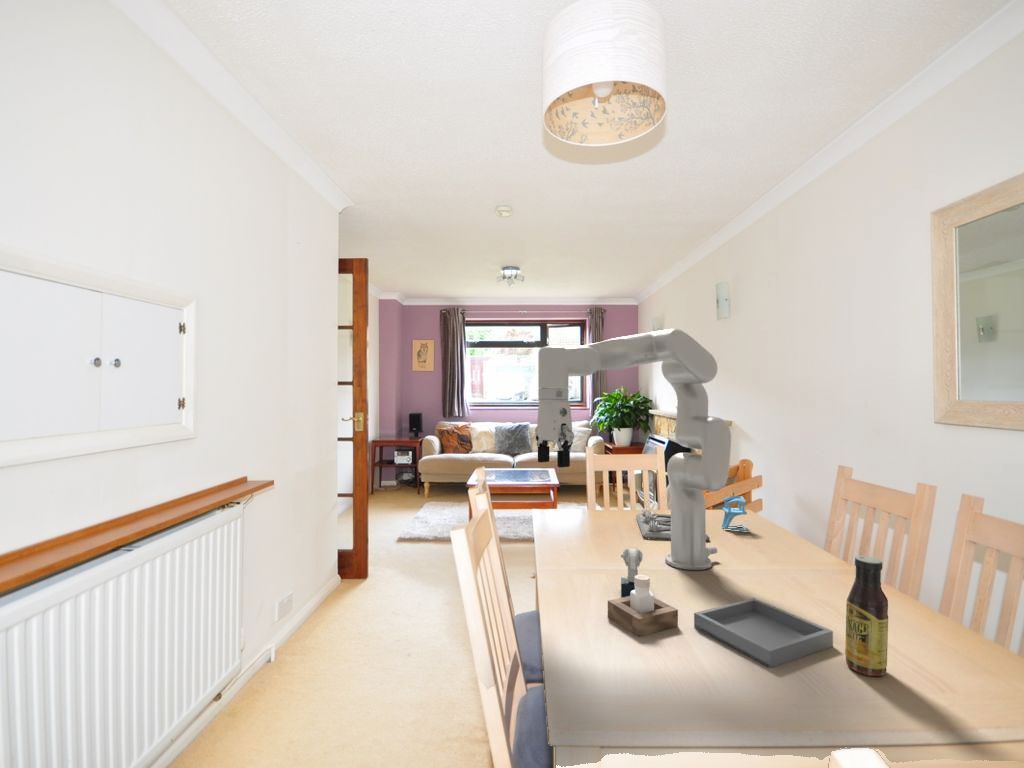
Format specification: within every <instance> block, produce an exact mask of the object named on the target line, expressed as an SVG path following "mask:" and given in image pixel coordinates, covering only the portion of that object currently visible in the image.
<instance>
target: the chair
mask: <svg viewBox="0 0 1024 768" xmlns="http://www.w3.org/2000/svg"><path fill="white" fill-rule="evenodd" d="M722 500H723V502H724V507H722V511H723V512H724V517H723V520H722V523H721V528H722V527H724V529H731V530H739V531H750V532H751V530H750V529H749V528H748V527H747V526H745V525H744V524H734V525H733V524H731V522H732V521H733V519H734V518H735V517H737V516H741V515H748V511H746V510H745V507H746V502H747V500H746V498H744V497H743V496H742V495H740V496H739V495H731V496H728V497H726V498H723V499H722ZM735 503H737V507H734V508H733V507H731V504H735ZM741 505H742V506H741ZM737 526H743V527H744V528H745V529H746V530H745V529H744V528H728V527H737Z"/></svg>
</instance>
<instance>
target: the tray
mask: <svg viewBox="0 0 1024 768" xmlns="http://www.w3.org/2000/svg"><path fill="white" fill-rule="evenodd" d="M693 617H694V619H693V628H695V629H696V630H698V631H701V632H702V633H704V634H706V635H708V636H710V637H712V638H713V639H714V640H715V639H716V640H717V641H718V642H721V643H723V644H725V645H727V646H728V647H730V648H731V649H733V650H736V651H737V652H738V653H742V654H743V655H745V656H747V657H748V658H751V659H753V660H754V661H756V662H758V663H760V664H762V665H764V666H765V667H767V668H769V669H771V668H774V667H776V666H779V665H783V664H785V663H789V662H791V661H794V660H797V659H800V658H803V657H806V656H809V655H813V654H814V653H818V652H821V651H823V650H824V651H825V650H826V649H830V648H832V647H834V639H833V638H834V635H833V634H834V631H833V630H831V629H829V628H826V627H824V626H822V625H820V624H817V623H815V622H812V621H810V620H808V619H806V618H802V617H800V616H798V615H796V614H794V613H790V612H789V611H786V610H784V609H781V608H778V607H776V606H775V605H771V604H770V603H766V602H764V601H762V600H759V599H757V598H755V597H752V598H749V599H745V600H740V601H737V602H733V603H732V602H731V603H729V604H723V605H720V606H717V607H713V608H712V607H711V608H708V609H704V610H699V611H697V612H696V611H695V612H694V613H693Z"/></svg>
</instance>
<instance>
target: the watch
mask: <svg viewBox="0 0 1024 768" xmlns="http://www.w3.org/2000/svg"><path fill="white" fill-rule="evenodd" d="M643 556H644V554H643V552H642V551H641V550H640V549H639V548H636V547H627V548H625V549H624V550H623V551H622V553H621V555H620V558H622V559H623V561H624V563H625V566H626V567H627V577H620V580H621V581H620V598H622V597H627V596H630V592H631V591H632V590H635V586H634V577H635V576H636V575H639V570H638V568H639V567H640V565H641V563H642V561H643Z"/></svg>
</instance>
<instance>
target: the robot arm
mask: <svg viewBox="0 0 1024 768" xmlns="http://www.w3.org/2000/svg"><path fill="white" fill-rule="evenodd" d="M537 357H538V365H537V366H538V371H537V372H538V373H537V375H538V377H537V378H538V379H537V381H538V382H537V383H538V385H537V386H538V389H537V392H538V395H537V396H538V400H537V402H538V411H537V425H536V426H535V428H534V433H535V440H536V446H537V462H538V463H549V462H550V446H549V444H550V442H552V443H556V445H557V447H558V450H557V456H556V457H557V460H556V461H557V465H556V466H557V467H558V468H570V465H571V453H570V452H571V450H572V445H573V441H574V437H575V433H574V432H573V419H572V411H571V410H572V409H571V405H570V401H569V378H570V377H587V376H590V375H593V374H595V373H596V372H597V371H614V370H616V371H617V370H624V369H631V368H633V367H640V366H643V365H648V364H654V363H660V362H662V363H661V373H662V375H663V377H664V378H665V380H666V381H667V382H668V383H669V384H670V385H671V387H672V388H673V390H674V392H675V394H676V400H677V407H676V417H675V418H676V419H675V420H676V421H675V440H676V442H677V443H678V445H680V446H682V447H684V448H689V449H693V450H699V451H701V454H700V453H693V452H678V453H675V454H674V455H672V456H671V457H670V458H669V459H668V462H667V465H666V472H667V479H668V483H669V490H670V492H669V493H670V515H671V540H670V553H668V554H666V555H665V557H664V561H665V563H666V564H667V565H668V566H671V567H674V568H677V569H681V570H682V569H683V570H686V571H687V570H689V571H702V570H706V569H710V568H711V567H712V560H711V559H710V558H709V557H710V555H716V554H718V548H717V547H716V546H711V547H710V546H709V547H708V546H706V545H707V543H706V542H707V541H706V534H707V533H706V529H707V528H706V525H707V524H706V520H707V519H706V507H707V506H706V505H707V504H706V500H705V494H704V492H703V491H706V492H718V491H720V490H723V489H724V487H725V486H726V484H727V482H728V478H729V473H730V461H731V460H730V459H731V450H732V449H731V448H732V447H731V446H732V434H731V433H732V432H731V429H730V427H729V424H728V423H727V422H726V421H725V420H724V419H723V418H720V417H717V416H709V396H708V392H707V390H706V388H705V387H704V385H703V384H708V383H710V382H712V381H713V380H714V379H715V377H716V376H717V374H718V363H717V361H716V359H715V357H714V356H713V354H711V353H710V351H709V350H707V349H706V348H705V347H704V346H702V344H700V343H699V342H698V341H697V340H696V339H694V338H693V337H692V336H691V335H690V334H688V333H686V332H685V331H684V330H681V329H678V328H670V329H668V328H667V329H663V330H656V331H655V330H653V331H649V332H644V333H637V334H632V335H626V336H620V337H615V338H610V339H605V340H603V341H600V342H595V343H589V344H583V345H578V346H573V347H565V346H560V345H558V346H557V345H549V346H543V347H541V348H539V351H538V356H537Z"/></svg>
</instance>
